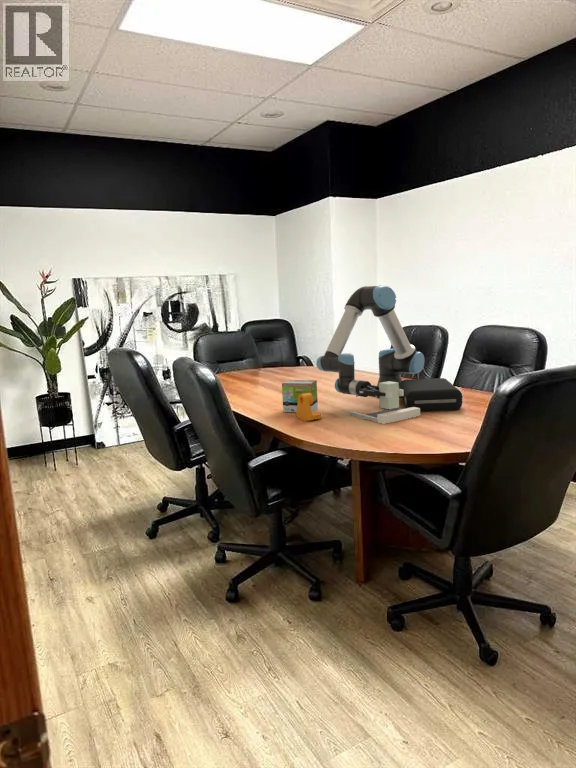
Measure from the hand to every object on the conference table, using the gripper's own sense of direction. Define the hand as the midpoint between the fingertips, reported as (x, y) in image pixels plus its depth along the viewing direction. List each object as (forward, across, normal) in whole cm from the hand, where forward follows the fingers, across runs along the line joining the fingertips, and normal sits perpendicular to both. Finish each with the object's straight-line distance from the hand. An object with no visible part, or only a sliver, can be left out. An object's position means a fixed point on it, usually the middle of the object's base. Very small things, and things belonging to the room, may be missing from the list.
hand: (397, 394), depth 236 cm
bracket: (-30, +26, -12) cm, 41 cm away
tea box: (-47, +18, -11) cm, 52 cm away
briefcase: (-12, -30, -11) cm, 34 cm away
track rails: (-12, -1, -11) cm, 16 cm away
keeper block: (-5, 0, -6) cm, 8 cm away
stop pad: (-9, -1, -11) cm, 14 cm away
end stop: (+1, 0, -11) cm, 11 cm away
